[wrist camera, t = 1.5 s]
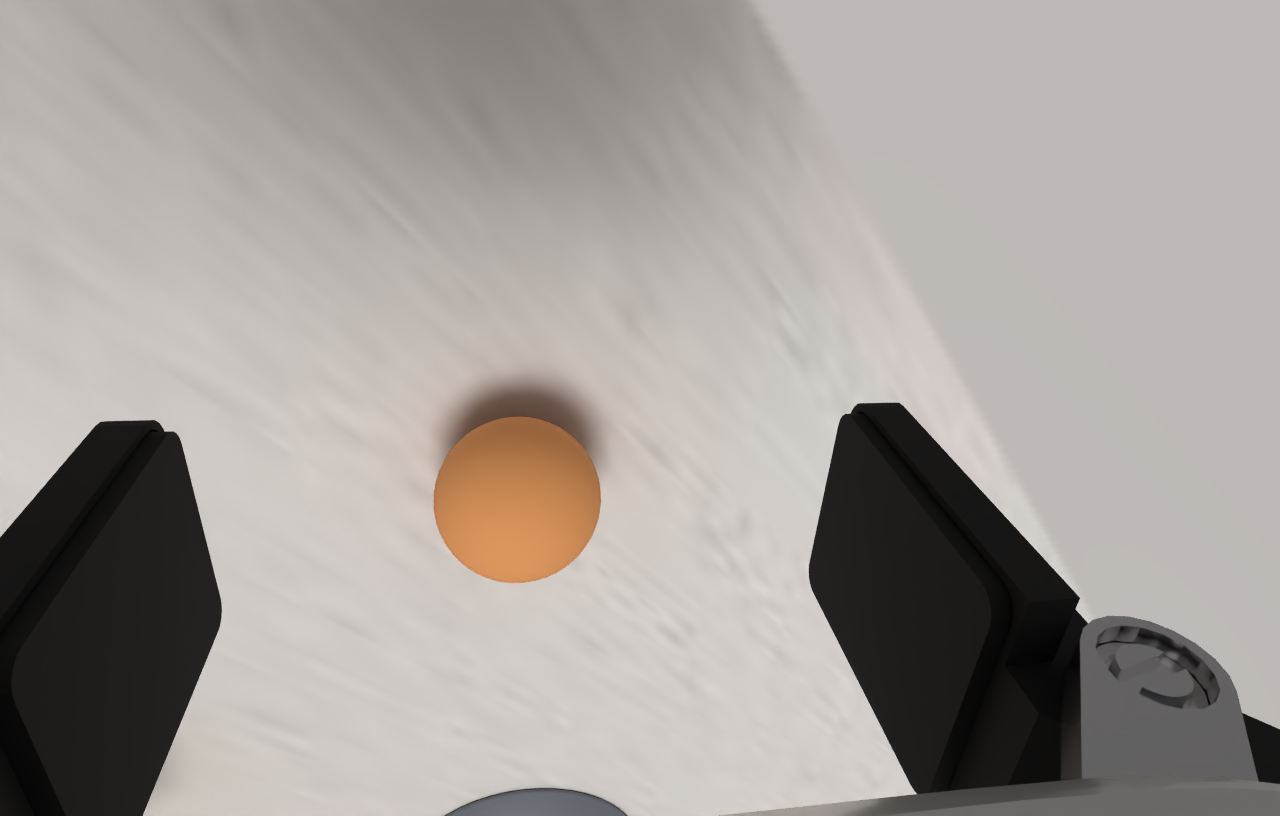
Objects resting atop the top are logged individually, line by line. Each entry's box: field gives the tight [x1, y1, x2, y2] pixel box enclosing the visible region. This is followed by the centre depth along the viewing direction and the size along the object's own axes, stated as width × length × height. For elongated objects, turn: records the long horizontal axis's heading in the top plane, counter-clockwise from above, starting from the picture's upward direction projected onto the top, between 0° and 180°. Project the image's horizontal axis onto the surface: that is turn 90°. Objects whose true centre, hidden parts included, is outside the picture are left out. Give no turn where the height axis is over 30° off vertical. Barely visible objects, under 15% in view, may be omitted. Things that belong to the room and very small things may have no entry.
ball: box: [434, 417, 601, 583], centre depth 27 cm, size 6×6×6 cm
